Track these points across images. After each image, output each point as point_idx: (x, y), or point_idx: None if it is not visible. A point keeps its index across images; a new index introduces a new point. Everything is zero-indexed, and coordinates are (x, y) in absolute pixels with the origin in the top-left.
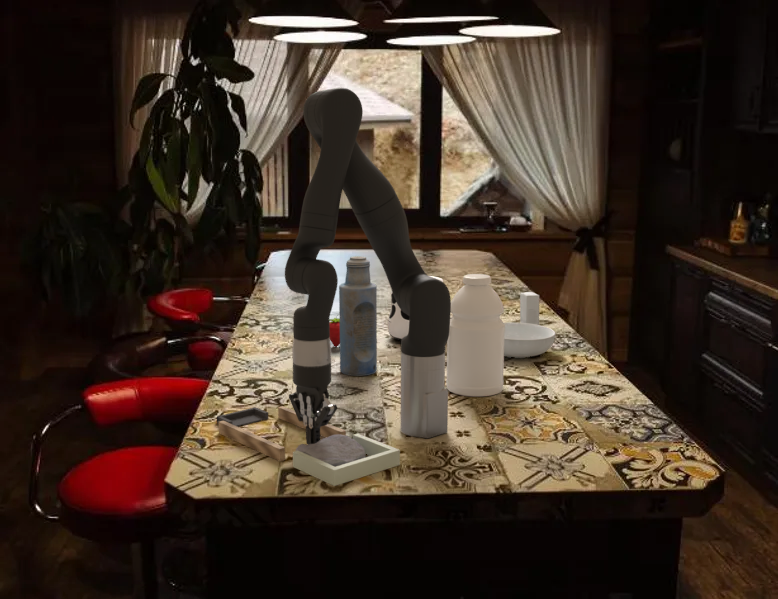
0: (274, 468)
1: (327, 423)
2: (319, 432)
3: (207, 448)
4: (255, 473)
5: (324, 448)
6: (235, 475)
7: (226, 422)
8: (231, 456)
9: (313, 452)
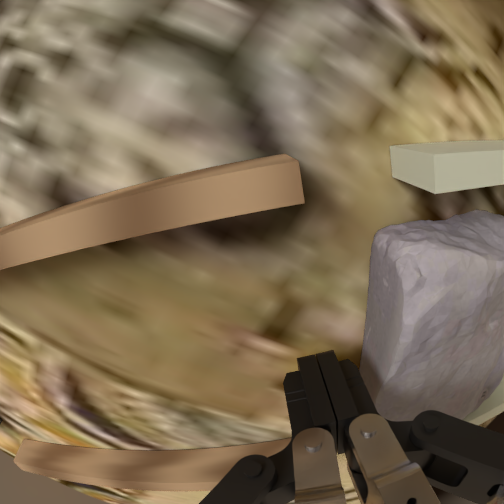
0: None
1: (447, 417)
2: (370, 399)
3: (131, 495)
4: (346, 479)
5: (460, 386)
6: None
7: (27, 466)
8: (206, 492)
9: None
